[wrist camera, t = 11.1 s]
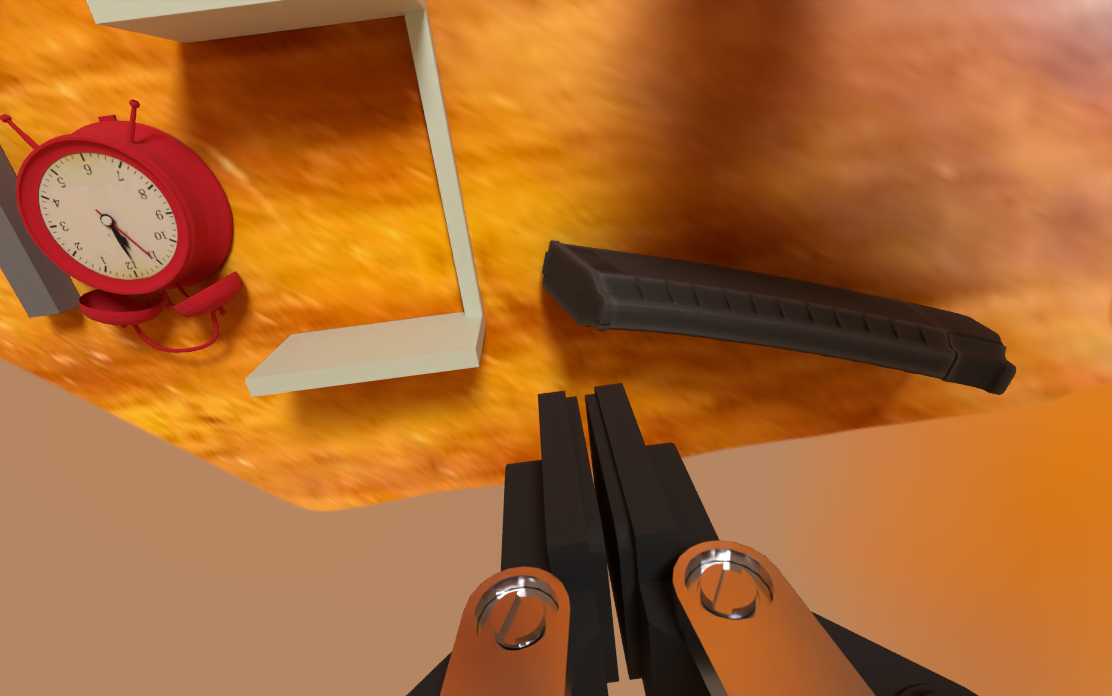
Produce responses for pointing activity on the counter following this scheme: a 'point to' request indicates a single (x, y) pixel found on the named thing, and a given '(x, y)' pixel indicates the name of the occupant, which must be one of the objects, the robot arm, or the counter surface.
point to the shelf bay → (450, 339)
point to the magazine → (771, 314)
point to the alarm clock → (128, 219)
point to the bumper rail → (29, 258)
